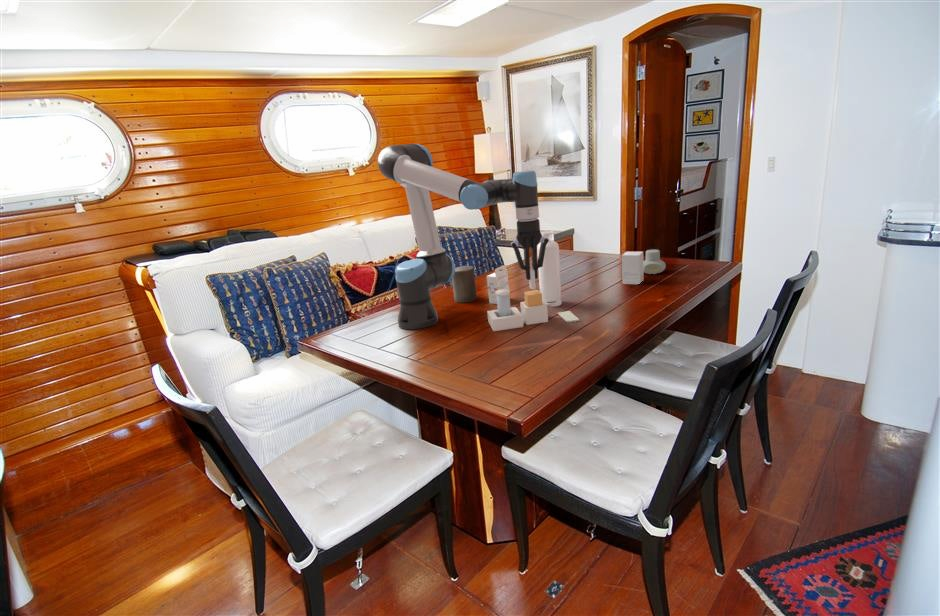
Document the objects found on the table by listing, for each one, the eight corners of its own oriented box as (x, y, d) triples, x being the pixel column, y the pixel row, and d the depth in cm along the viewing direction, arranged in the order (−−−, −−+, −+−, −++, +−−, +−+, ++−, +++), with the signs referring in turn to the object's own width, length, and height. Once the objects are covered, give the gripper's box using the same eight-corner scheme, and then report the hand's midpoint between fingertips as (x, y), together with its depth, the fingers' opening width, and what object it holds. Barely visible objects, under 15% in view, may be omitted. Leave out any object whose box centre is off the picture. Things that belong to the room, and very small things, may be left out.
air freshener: (639, 275, 213) (639, 253, 210) (639, 270, 220) (639, 249, 217) (666, 274, 209) (666, 252, 206) (665, 270, 217) (665, 248, 214)
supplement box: (644, 280, 205) (644, 251, 201) (639, 285, 199) (639, 255, 195) (626, 279, 209) (626, 251, 205) (621, 284, 203) (621, 254, 199)
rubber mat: (551, 325, 165) (551, 323, 165) (543, 316, 174) (543, 314, 174) (579, 321, 166) (579, 319, 166) (569, 312, 175) (569, 310, 175)
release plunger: (529, 317, 166) (527, 295, 163) (525, 313, 170) (523, 291, 168) (543, 315, 166) (541, 293, 164) (539, 311, 171) (537, 289, 169)
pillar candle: (480, 299, 202) (476, 265, 198) (458, 304, 199) (454, 269, 195) (471, 295, 211) (468, 261, 207) (451, 299, 208) (447, 265, 204)
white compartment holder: (493, 333, 163) (492, 314, 161) (488, 324, 173) (486, 305, 170) (549, 325, 165) (548, 306, 163) (541, 316, 175) (539, 298, 172)
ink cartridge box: (500, 297, 203) (497, 263, 198) (510, 298, 200) (507, 264, 195) (488, 303, 196) (485, 268, 192) (498, 304, 193) (495, 269, 189)
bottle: (552, 308, 182) (548, 235, 174) (536, 304, 188) (531, 233, 180) (565, 302, 187) (562, 231, 178) (550, 299, 193) (546, 230, 184)
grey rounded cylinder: (500, 327, 165) (497, 293, 162) (497, 322, 170) (494, 290, 166) (513, 325, 166) (510, 292, 162) (510, 320, 170) (507, 288, 167)
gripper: (511, 223, 154) (516, 293, 161) (550, 218, 155) (554, 288, 163) (506, 220, 161) (511, 288, 168) (543, 215, 163) (547, 283, 170)
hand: (532, 288), depth 165 cm, fingers closed
